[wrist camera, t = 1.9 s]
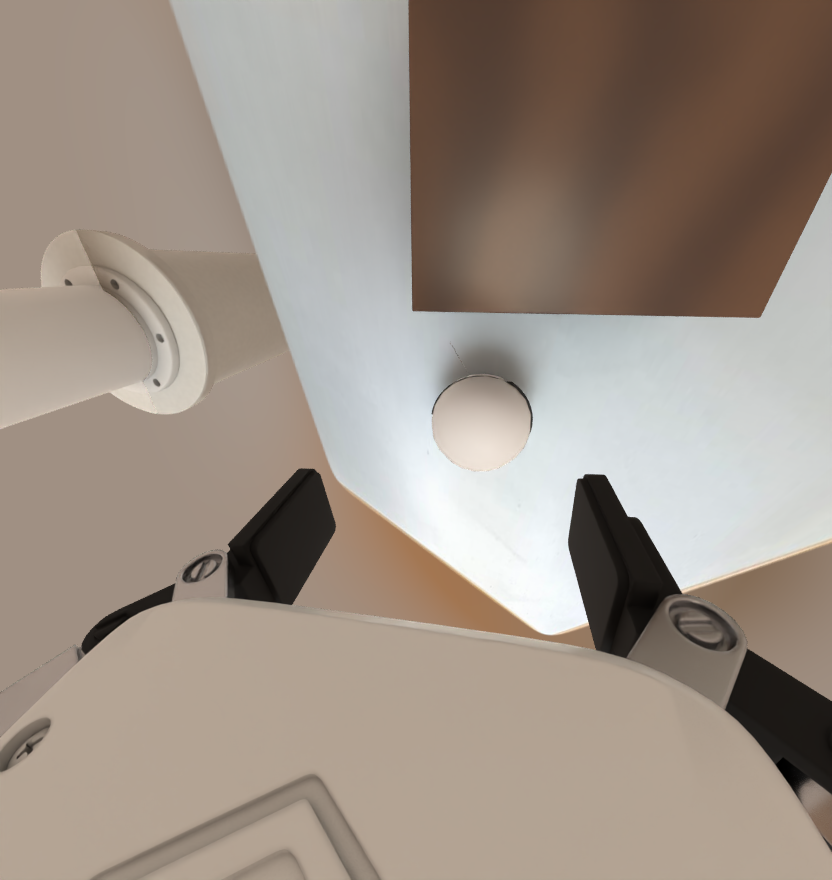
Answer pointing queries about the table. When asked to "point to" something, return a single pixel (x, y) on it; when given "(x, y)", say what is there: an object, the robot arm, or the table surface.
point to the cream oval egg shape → (481, 422)
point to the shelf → (614, 152)
